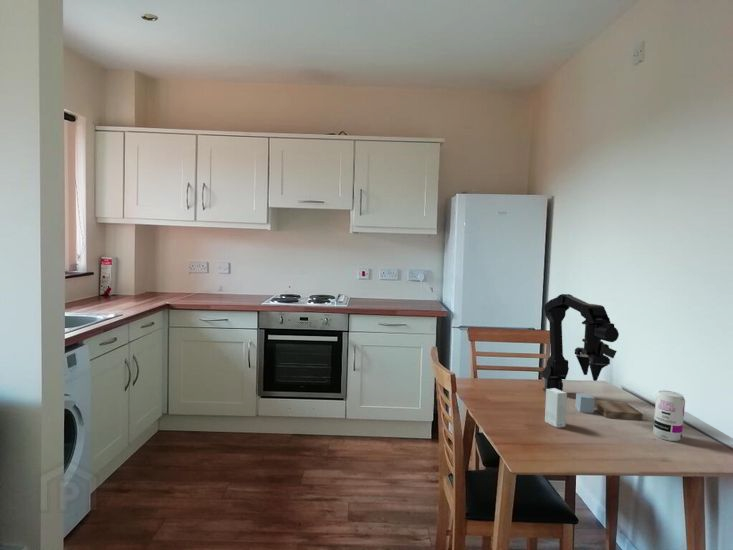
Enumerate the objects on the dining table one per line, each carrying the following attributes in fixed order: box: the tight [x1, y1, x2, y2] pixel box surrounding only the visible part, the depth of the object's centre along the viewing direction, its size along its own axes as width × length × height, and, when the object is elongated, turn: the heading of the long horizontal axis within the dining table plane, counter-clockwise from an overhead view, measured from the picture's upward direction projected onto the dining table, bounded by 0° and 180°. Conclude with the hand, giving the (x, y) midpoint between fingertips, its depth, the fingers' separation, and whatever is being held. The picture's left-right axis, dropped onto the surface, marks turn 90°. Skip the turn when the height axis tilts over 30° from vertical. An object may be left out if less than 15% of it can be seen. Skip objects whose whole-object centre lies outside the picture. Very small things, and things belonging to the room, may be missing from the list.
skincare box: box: [544, 388, 568, 428], centre depth 166 cm, size 6×4×12 cm
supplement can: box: [652, 390, 686, 442], centre depth 159 cm, size 8×8×15 cm
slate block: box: [574, 392, 596, 414], centre depth 183 cm, size 5×5×6 cm
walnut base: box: [594, 399, 643, 421], centre depth 182 cm, size 13×13×2 cm
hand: (590, 377), depth 182 cm, fingers open, 9 cm apart
